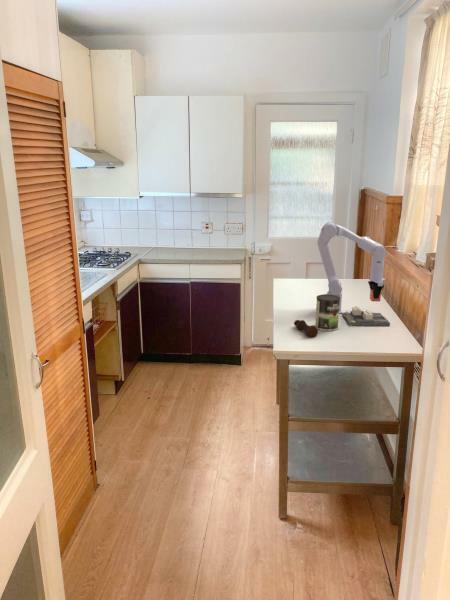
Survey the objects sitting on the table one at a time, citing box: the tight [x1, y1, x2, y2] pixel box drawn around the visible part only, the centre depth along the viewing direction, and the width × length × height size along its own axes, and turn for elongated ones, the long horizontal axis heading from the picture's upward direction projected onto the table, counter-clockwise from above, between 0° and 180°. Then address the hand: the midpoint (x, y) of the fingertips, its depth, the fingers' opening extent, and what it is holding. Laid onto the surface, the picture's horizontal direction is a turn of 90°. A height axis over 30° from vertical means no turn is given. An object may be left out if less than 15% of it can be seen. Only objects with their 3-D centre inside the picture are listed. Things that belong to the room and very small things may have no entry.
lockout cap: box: [369, 288, 382, 302], centre depth 234 cm, size 4×4×6 cm
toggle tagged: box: [363, 310, 373, 320], centre depth 222 cm, size 3×5×4 cm, turn 179°
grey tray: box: [342, 310, 391, 327], centre depth 225 cm, size 18×15×2 cm
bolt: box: [293, 319, 319, 339], centre depth 211 cm, size 6×5×15 cm
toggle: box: [351, 305, 362, 315], centre depth 228 cm, size 3×5×4 cm, turn 179°
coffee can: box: [314, 293, 340, 332], centre depth 215 cm, size 10×10×14 cm
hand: (374, 297), depth 234 cm, fingers closed on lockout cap, 4 cm apart
